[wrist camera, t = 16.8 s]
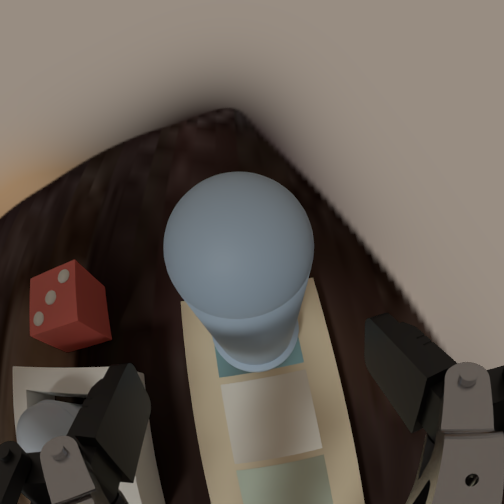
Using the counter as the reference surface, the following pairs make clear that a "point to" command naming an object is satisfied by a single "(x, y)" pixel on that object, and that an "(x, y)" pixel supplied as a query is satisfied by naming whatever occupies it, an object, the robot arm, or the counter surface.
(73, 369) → the base
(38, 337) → the die
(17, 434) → the light blue rounded piece
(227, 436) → the track
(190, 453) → the counter surface
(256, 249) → the pawn
